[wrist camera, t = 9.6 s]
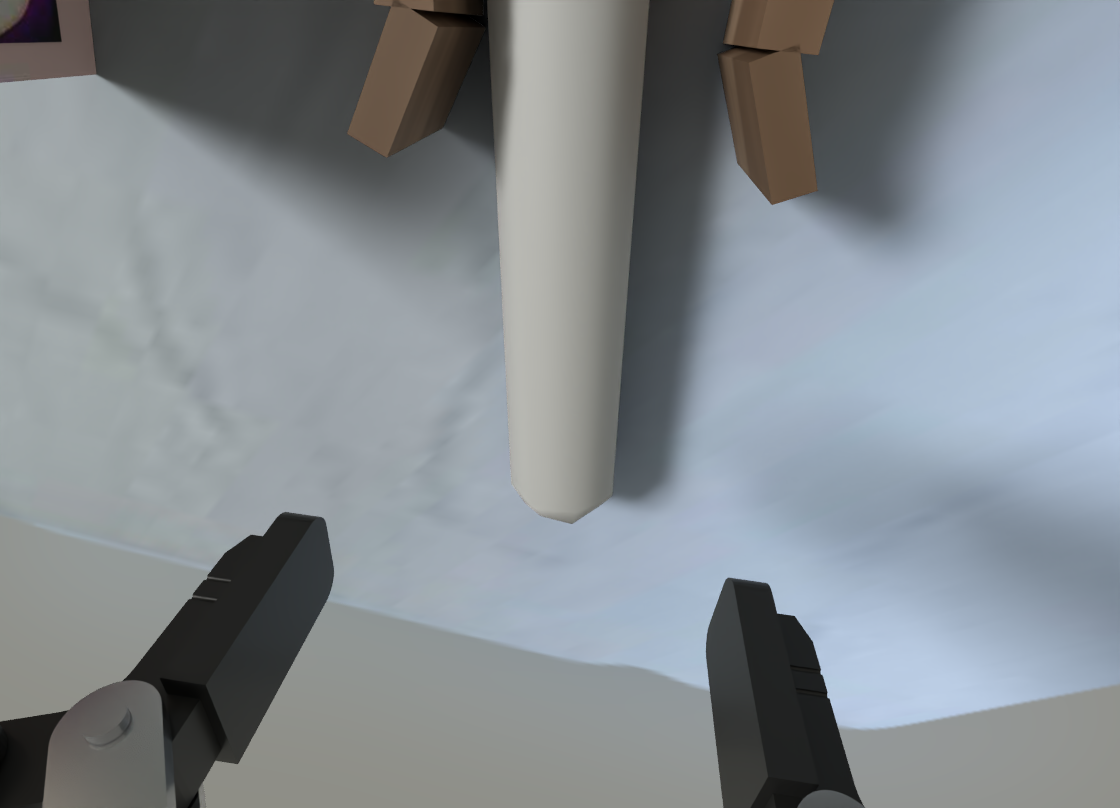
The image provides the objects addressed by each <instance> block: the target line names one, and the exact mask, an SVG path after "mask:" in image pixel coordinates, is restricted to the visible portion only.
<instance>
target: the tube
mask: <svg viewBox="0 0 1120 808" xmlns="http://www.w3.org/2000/svg"><path fill="white" fill-rule="evenodd" d="M487 8H488V28H489V48H490V68H491V88H492V108H493V128H494V148H495V168H496V188H497V208H498V228H499V248H500V268H501V288H502V308H503V328H504V348H505V368H506V388H507V408H508V428H509V447H510V467H511V484H512V485H513V487H514V488H515V489H516V491H517V492H518V494H519V495H520V496H521V498H522V499H523V501H524V502H525V503H526V504H527V505H528V506H529V507H530V508H532V509H533V510H534V511H535V512H536V513H538V514H539V515H540V516H543V517H547V518H551V519H555V520H558V521H562V522H566V523H570V524H573V523H574V522H576V521H577V520H579V519H580V518H582V517H584V516H585V515H587V514H588V513H590V512H591V511H593V510H594V509H596V508H597V507H599V506H600V505H601V504H603V503H604V502H605V501H607V500H608V499H609V498H611V497H612V494H613V480H614V467H615V453H616V440H617V427H618V413H619V400H620V387H621V373H622V360H623V347H624V333H625V320H626V306H627V293H628V280H629V266H630V253H631V240H632V226H633V213H634V200H635V186H636V173H637V159H638V146H639V133H640V119H641V106H642V93H643V79H644V66H645V53H646V39H647V26H648V12H649V0H487Z"/></svg>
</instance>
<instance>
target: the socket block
mask: <svg viewBox="0 0 1120 808" xmlns="http://www.w3.org/2000/svg"><path fill="white" fill-rule="evenodd" d="M833 2H834V0H732V2H731V7H730V11H729V16H728V21H727V26H726V30H725V35H724V40H723V43H724V44H731V45H738V46H737V47H735V48H732V49H730V50H727V51H724V52H722V53H719V54H717V56H718V61H719V66H720V72H721V77H722V82H723V88H724V93H725V99H726V104H727V109H728V115H729V120H730V125H731V131H732V136H733V142H734V147H735V152H736V158H737V163H738V165H739V166H740V167H741V168H742V169H743V171H744V172H745V173H746V174H747V175H748V177H749V178H750V179H751V180H752V181H753V183H754V184H755V185H756V186H757V187H758V189H759V190H760V191H761V192H762V194H763V195H764V196H765V197H766V198H767V200H768V201H769V202H770V203H771V204H772V205H773V204H776V203H780V202H783V201H786V200H789V199H793V198H796V197H799V196H802V195H805V194H809V193H812V192H815V191H818V190H817V182H816V174H815V166H814V158H813V150H812V142H811V134H810V126H809V118H808V110H807V101H806V93H805V85H804V77H803V69H802V61H801V53H804V54H812V55H818V54H819V51H820V47H821V44H822V41H823V37H824V34H825V30H826V27H827V23H828V20H829V16H830V13H831V9H832V6H833ZM374 4H375V5H384V6H391V8H390V11H389V14H388V17H387V20H386V23H385V26H384V28H383V31H382V34H381V37H380V40H379V43H378V46H377V49H376V52H375V54H374V57H373V60H372V63H371V66H370V69H369V72H368V75H367V78H366V80H365V83H364V86H363V89H362V92H361V95H360V98H359V101H358V104H357V107H356V109H355V112H354V115H353V118H352V121H351V124H350V127H349V130H348V133H347V134H348V135H350V136H351V137H353V138H355V139H356V140H358V141H360V142H361V143H363V144H365V145H366V146H368V147H370V148H371V149H373V150H374V151H376V152H378V153H379V154H381V155H383V156H384V157H386V158H388V157H389V156H391V155H393V154H395V153H397V152H399V151H401V150H403V149H404V148H406V147H408V146H410V145H412V144H414V143H416V142H417V141H419V140H421V139H423V138H425V137H427V136H429V135H431V134H432V133H434V132H436V131H438V130H440V129H442V128H443V126H444V124H445V122H446V119H447V117H448V115H449V112H450V110H451V108H452V105H453V103H454V101H455V98H456V96H457V94H458V91H459V89H460V87H461V84H462V82H463V80H464V78H465V75H466V73H467V71H468V68H469V66H470V64H471V61H472V59H473V57H474V54H475V52H476V50H477V47H478V45H479V43H480V40H481V38H482V36H483V33H484V31H485V29H486V27H484V26H483V25H481V24H480V23H478V22H477V21H476V20H474V19H473V18H471V17H470V16H468V15H467V14H469V15H479V16H483V0H374Z"/></svg>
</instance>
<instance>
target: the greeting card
mask: <svg viewBox="0 0 1120 808" xmlns="http://www.w3.org/2000/svg"><path fill="white" fill-rule="evenodd" d="M95 74H96V65H95V56H94V47H93V37H92V28H91V19H90V10H89V0H0V83H1V82H13V81H24V80H36V79H48V78H60V77H71V76H83V75H95Z"/></svg>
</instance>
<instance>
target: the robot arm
mask: <svg viewBox="0 0 1120 808" xmlns="http://www.w3.org/2000/svg"><path fill="white" fill-rule="evenodd" d="M333 577H334V567H333V561H332V555H331V549H330V544H329V538H328V532H327V526H326V522H325V520H324V519H323V518H322V517H316V516H309V515H302V514H296V513H289V512H284V513H282V514H280V515H279V516H278V517H277V518H276V520H275V521H274V522H273V524H272V525H271V526H270V528H269V529H268V530H267V532H266V533H265V534H264V536H256V535H250V536H248V537H247V538H246V539H244V540H243V541H241V542H240V543H239V544H237V545H236V546H234V547H233V548H231V549H230V550H229V551H227V552H226V553H225V554H224V555H223V556H222V558H221V559H220V560H219V561H218V563H217V564H216V565H215V567H214V568H213V569H212V570H211V572H210V573H209V574H208V578H207V580H204V581H203V582H202V583H201V584H200V586H199V587H198V588H197V590H196V591H195V592H194V593H193V597H192V599H189V600H188V601H187V602H186V603H185V605H184V606H183V607H182V609H181V610H180V611H179V612H178V614H177V615H176V616H175V618H174V619H173V620H172V621H171V623H170V624H169V625H168V626H167V628H166V629H165V630H164V632H163V633H162V634H161V635H160V637H159V638H158V639H157V641H156V642H155V643H154V644H153V646H152V647H151V648H150V649H149V650H148V652H147V653H146V654H145V656H144V657H143V658H142V659H141V661H140V662H139V663H138V665H137V666H136V667H135V668H134V670H133V671H132V672H131V673H130V674H129V675H128V676H127V677H126V678H125V679H124V680H123V681H121V682H116V683H113V684H110V685H107V686H105V687H102V688H100V689H98V690H96V691H94V692H92V693H90V694H89V695H87V696H86V697H84V698H83V699H81V700H80V701H79V702H78V703H76V704H75V705H74V706H73V707H72V708H71V709H70V710H68V711H63V712H58V713H52V714H45V715H39V716H33V717H27V718H21V719H14V720H8V721H2V722H0V808H206V803H205V793H204V786H203V781H204V779H205V777H206V776H207V774H208V772H209V771H210V769H211V767H212V765H213V763H214V762H215V760H216V761H222V762H228V763H234V764H238V763H239V761H240V759H241V758H242V756H243V754H244V752H245V750H246V748H247V746H248V745H249V743H250V741H251V739H252V737H253V736H254V734H255V732H256V730H257V728H258V726H259V724H260V723H261V721H262V719H263V717H264V715H265V713H266V712H267V710H268V708H269V706H270V704H271V702H272V700H273V699H274V697H275V695H276V693H277V691H278V689H279V688H280V686H281V684H282V682H283V680H284V678H285V676H286V675H287V673H288V671H289V669H290V667H291V665H292V664H293V662H294V660H295V658H296V656H297V654H298V652H299V651H300V649H301V647H302V645H303V643H304V641H305V639H306V638H307V636H308V634H309V632H310V630H311V628H312V626H313V625H314V623H315V621H316V619H317V617H318V615H319V614H320V612H321V610H322V608H323V606H324V604H325V603H326V601H327V599H328V596H329V594H330V591H331V588H332V583H333ZM706 659H707V668H708V677H709V686H710V694H711V703H712V712H713V720H714V729H715V738H716V746H717V755H718V764H719V772H720V780H721V790H722V798H723V806H724V808H865V807H864V805H863V804H862V802H861V800H860V798H859V795H858V793H857V790H856V787H855V785H854V781H853V778H852V774H851V771H850V768H849V764H848V761H847V758H846V754H845V750H844V747H843V744H842V740H841V737H840V733H839V730H838V727H837V723H836V720H835V716H834V713H833V709H832V706H831V703H830V699H829V698H827V693H828V692H827V689H826V686H825V682H824V679H823V675H821V674H820V671H821V668H820V665H819V662H818V658H817V655H816V651H815V648H814V645H813V642H812V640H811V639H810V637H809V636H808V634H807V633H806V632H805V630H804V629H803V627H802V626H801V625H800V623H799V622H798V620H797V619H796V617H795V616H790V615H784V614H777V611H776V607H775V603H774V599H773V595H772V591H771V588H770V586H769V585H768V584H767V583H762V582H755V581H748V580H741V579H734V578H727V579H726V581H725V583H724V585H723V588H722V591H721V594H720V596H719V599H718V602H717V605H716V608H715V610H714V613H713V616H712V619H711V622H710V624H709V628H708V633H707V641H706Z"/></svg>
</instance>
